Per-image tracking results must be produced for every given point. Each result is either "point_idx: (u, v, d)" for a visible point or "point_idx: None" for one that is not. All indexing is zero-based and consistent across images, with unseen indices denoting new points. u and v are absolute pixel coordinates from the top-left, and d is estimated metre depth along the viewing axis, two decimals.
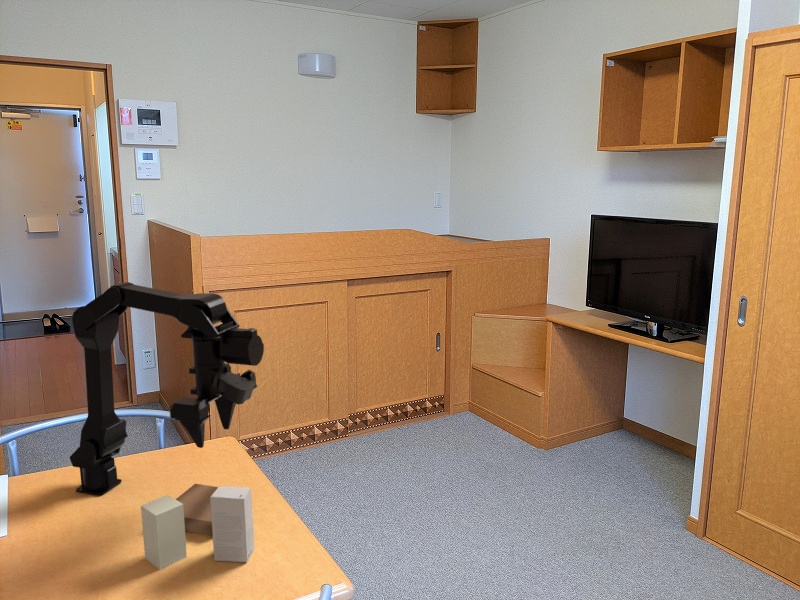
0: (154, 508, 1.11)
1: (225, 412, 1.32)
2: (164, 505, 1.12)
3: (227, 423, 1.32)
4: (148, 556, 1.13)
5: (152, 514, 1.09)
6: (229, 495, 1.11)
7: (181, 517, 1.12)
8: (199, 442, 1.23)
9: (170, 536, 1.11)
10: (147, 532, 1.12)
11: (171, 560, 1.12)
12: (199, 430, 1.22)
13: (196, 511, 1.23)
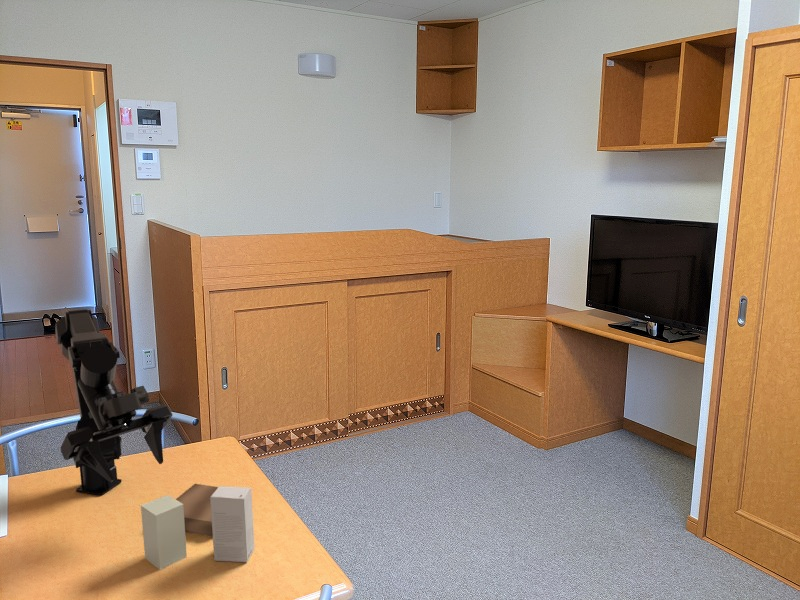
0: (154, 508, 1.11)
1: (154, 446, 1.21)
2: (164, 505, 1.12)
3: (158, 456, 1.20)
4: (148, 556, 1.13)
5: (152, 514, 1.09)
6: (229, 495, 1.11)
7: (181, 517, 1.12)
8: (106, 475, 1.13)
9: (170, 536, 1.11)
10: (147, 532, 1.12)
11: (171, 560, 1.12)
12: (96, 460, 1.13)
13: (196, 511, 1.23)
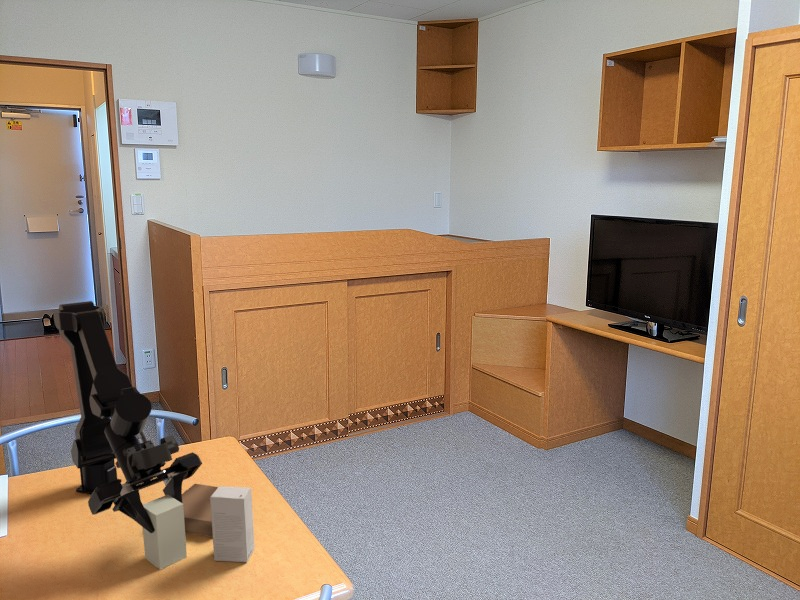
0: (154, 507, 1.11)
1: None
2: (164, 505, 1.12)
3: None
4: (148, 556, 1.13)
5: (152, 514, 1.09)
6: (229, 496, 1.11)
7: (181, 517, 1.12)
8: (147, 526, 1.10)
9: (170, 536, 1.11)
10: (147, 532, 1.12)
11: (171, 560, 1.12)
12: (136, 511, 1.10)
13: (196, 511, 1.23)
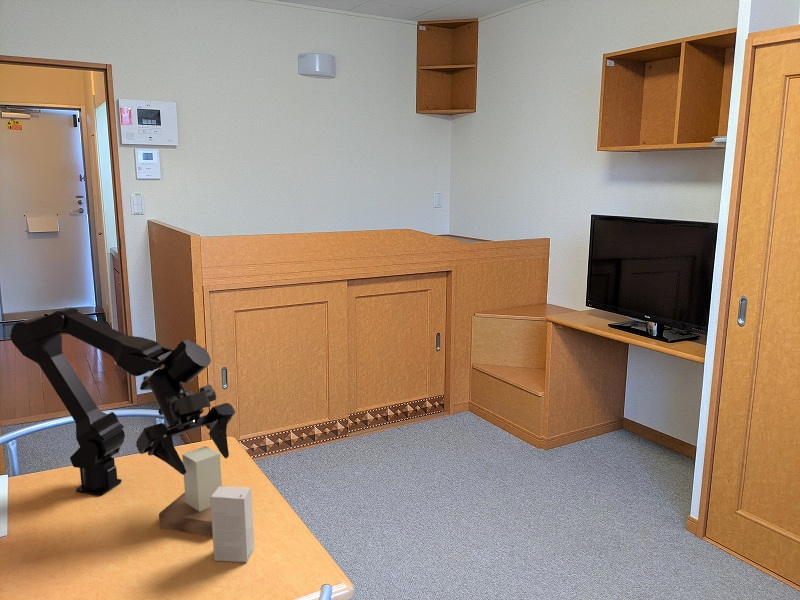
0: (194, 456, 1.24)
1: (219, 441, 1.29)
2: (203, 454, 1.25)
3: (224, 450, 1.28)
4: (189, 501, 1.26)
5: (193, 461, 1.22)
6: (229, 495, 1.11)
7: (218, 465, 1.25)
8: (179, 468, 1.21)
9: (208, 482, 1.24)
10: (187, 479, 1.25)
11: (209, 504, 1.25)
12: (170, 454, 1.21)
13: (196, 511, 1.23)
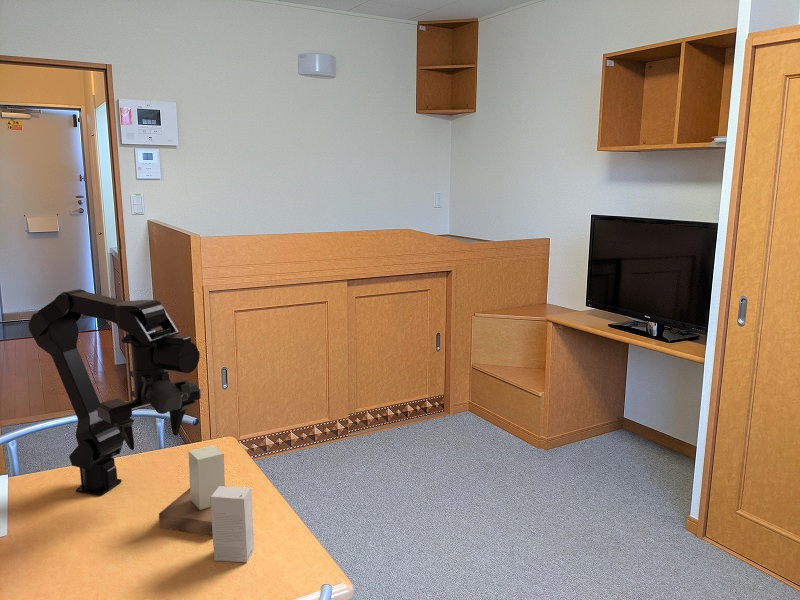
0: (198, 454, 1.25)
1: (174, 418, 1.33)
2: (207, 453, 1.25)
3: (175, 429, 1.33)
4: (192, 498, 1.26)
5: (195, 458, 1.23)
6: (229, 496, 1.11)
7: (221, 465, 1.25)
8: (129, 444, 1.26)
9: (211, 481, 1.24)
10: (192, 476, 1.26)
11: (210, 503, 1.25)
12: (125, 433, 1.24)
13: (196, 512, 1.23)
